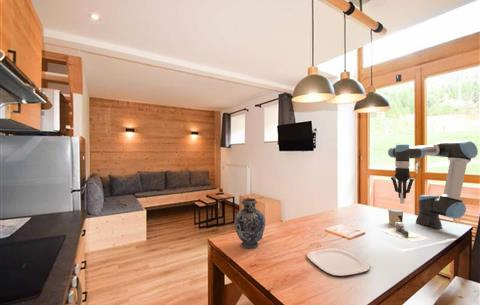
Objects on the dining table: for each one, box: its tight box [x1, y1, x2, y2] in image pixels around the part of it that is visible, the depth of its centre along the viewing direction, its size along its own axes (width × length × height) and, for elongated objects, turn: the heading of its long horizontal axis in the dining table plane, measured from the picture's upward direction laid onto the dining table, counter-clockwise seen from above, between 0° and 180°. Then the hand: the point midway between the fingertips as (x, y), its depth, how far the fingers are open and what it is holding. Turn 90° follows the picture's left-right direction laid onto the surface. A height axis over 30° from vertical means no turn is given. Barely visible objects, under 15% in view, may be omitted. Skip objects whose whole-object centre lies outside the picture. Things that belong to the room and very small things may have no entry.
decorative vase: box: [234, 196, 266, 250], centre depth 137 cm, size 21×19×28 cm
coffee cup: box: [387, 208, 404, 226], centre depth 169 cm, size 9×9×12 cm
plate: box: [306, 248, 371, 277], centre depth 115 cm, size 25×25×2 cm
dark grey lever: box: [394, 222, 409, 236], centre depth 150 cm, size 13×5×5 cm, turn 166°
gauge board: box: [379, 226, 431, 243], centre depth 149 cm, size 18×22×2 cm
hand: (402, 203), depth 148 cm, fingers closed
